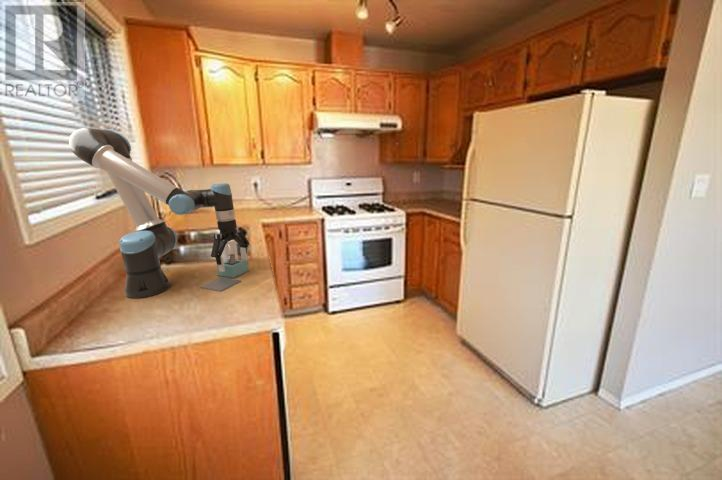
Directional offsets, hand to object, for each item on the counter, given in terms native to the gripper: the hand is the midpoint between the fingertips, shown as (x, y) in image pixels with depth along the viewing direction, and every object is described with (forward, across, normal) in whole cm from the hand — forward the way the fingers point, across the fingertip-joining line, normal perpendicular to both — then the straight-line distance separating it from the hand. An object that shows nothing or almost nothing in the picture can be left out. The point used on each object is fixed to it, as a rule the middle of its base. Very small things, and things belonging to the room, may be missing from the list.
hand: (233, 266), depth 145 cm
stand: (+4, 0, 0) cm, 4 cm away
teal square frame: (+3, 0, 0) cm, 3 cm away
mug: (+4, +10, +12) cm, 16 cm away
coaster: (+4, -12, -4) cm, 14 cm away
